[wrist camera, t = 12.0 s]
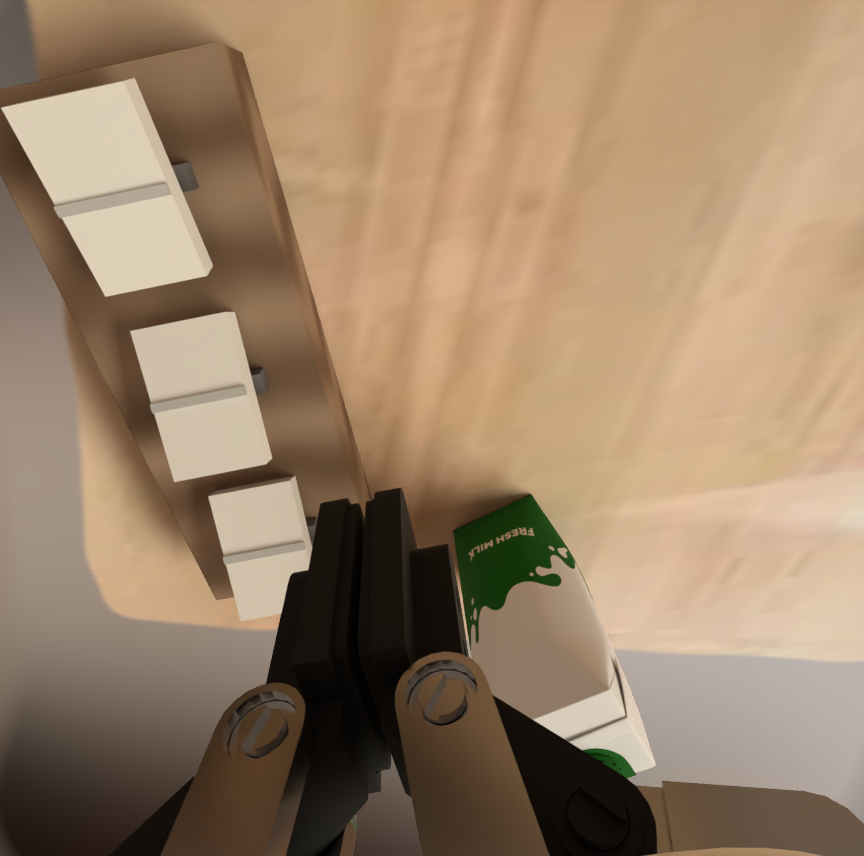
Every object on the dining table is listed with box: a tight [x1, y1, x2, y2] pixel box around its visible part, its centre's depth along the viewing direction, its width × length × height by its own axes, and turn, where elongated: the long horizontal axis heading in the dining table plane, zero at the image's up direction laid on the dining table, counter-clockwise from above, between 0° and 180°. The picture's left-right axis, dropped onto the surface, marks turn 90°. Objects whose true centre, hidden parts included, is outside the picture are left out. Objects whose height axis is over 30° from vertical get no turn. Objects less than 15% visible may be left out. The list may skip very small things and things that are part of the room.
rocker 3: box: [208, 476, 312, 621], centre depth 37 cm, size 8×5×2 cm, turn 10°
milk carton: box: [453, 495, 655, 778], centre depth 38 cm, size 9×9×20 cm
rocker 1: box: [1, 78, 213, 297], centre depth 26 cm, size 8×5×2 cm, turn 11°
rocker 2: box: [130, 312, 272, 482], centre depth 31 cm, size 8×5×2 cm, turn 10°
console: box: [0, 42, 372, 600], centre depth 35 cm, size 32×12×6 cm, turn 10°
